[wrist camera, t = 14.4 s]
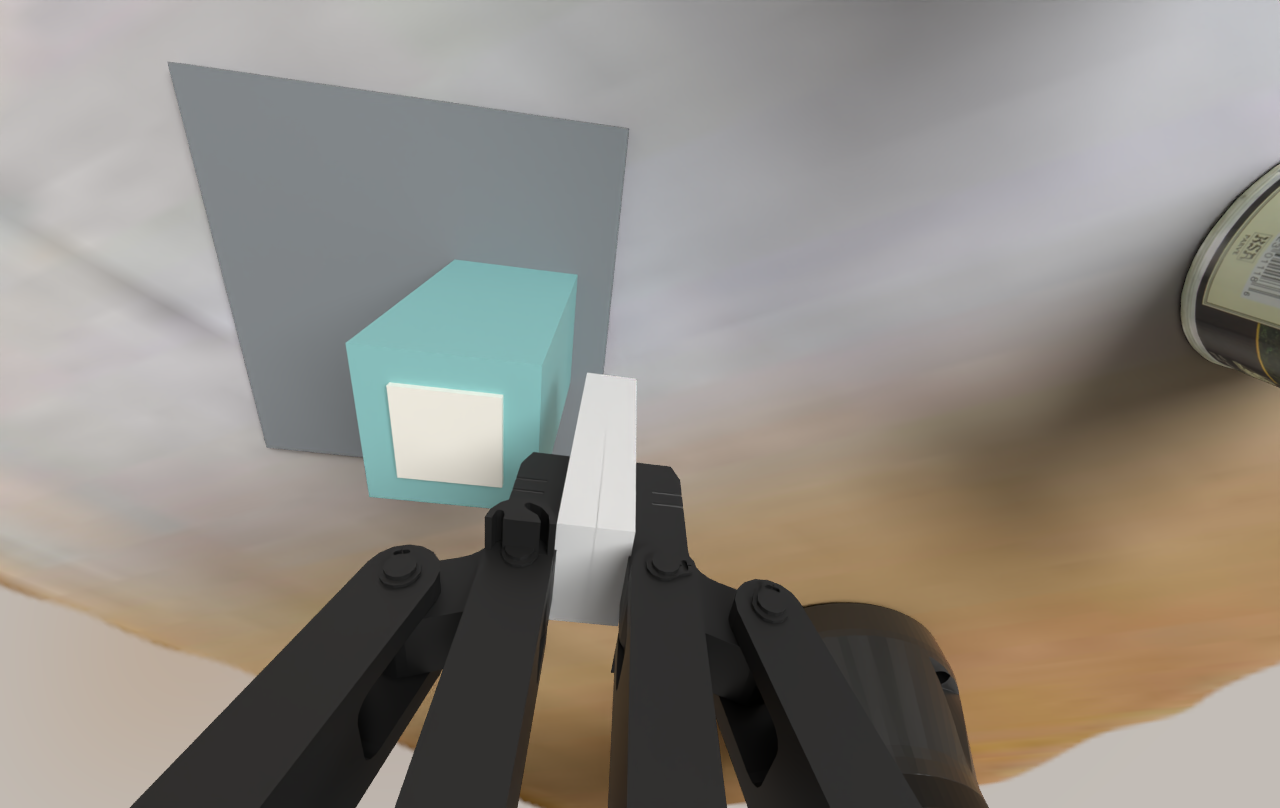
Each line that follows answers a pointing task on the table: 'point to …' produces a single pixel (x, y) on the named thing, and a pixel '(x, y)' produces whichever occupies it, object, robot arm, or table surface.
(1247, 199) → the coffee can
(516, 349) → the block
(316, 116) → the mat
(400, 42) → the table surface
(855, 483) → the table surface
